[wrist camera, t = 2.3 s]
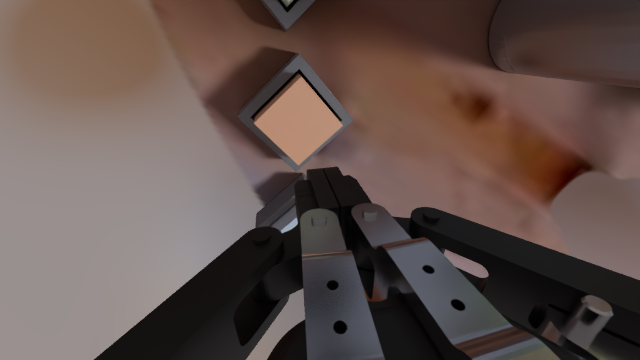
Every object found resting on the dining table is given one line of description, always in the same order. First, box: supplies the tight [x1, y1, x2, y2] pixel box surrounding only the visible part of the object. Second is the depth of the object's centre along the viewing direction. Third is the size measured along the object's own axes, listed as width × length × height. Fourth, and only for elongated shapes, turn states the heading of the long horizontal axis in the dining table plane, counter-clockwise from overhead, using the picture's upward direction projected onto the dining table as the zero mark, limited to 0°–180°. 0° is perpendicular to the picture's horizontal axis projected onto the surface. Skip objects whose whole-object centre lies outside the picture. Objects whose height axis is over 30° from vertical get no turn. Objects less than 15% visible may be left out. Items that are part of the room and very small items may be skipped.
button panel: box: [237, 0, 353, 228], centre depth 25 cm, size 11×36×3 cm, turn 1°
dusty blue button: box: [270, 204, 298, 233], centre depth 29 cm, size 5×5×3 cm
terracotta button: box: [254, 73, 343, 165], centre depth 23 cm, size 5×5×3 cm
